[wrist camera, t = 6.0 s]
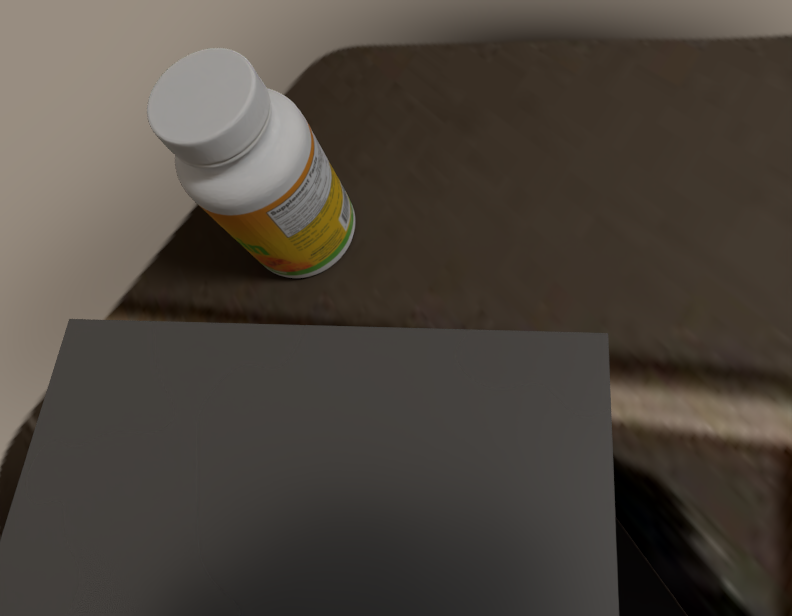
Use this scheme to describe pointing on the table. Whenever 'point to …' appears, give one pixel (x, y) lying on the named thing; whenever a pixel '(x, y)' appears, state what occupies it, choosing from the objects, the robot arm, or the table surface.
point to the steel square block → (316, 474)
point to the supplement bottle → (252, 162)
